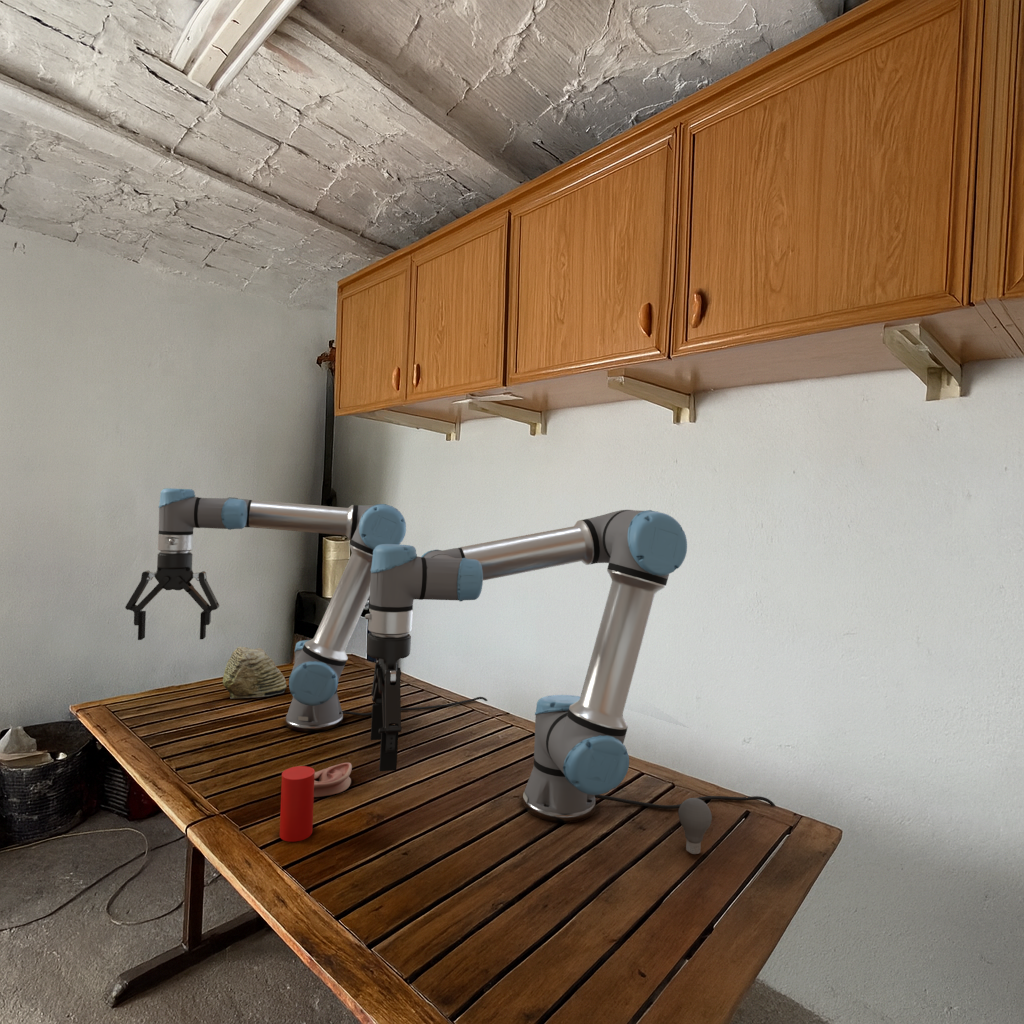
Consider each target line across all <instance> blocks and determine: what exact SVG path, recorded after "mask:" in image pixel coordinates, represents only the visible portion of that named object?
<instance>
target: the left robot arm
mask: <svg viewBox="0 0 1024 1024" xmlns="http://www.w3.org/2000/svg"><path fill="white" fill-rule="evenodd" d="M244 528H251V529H253V528H254V529H263V530H264V529H265V530H278V531H290V532H302V533H303V532H304V533H312V534H313V533H314V534H315V533H316V534H326V535H340V536H346V537H347V539H349V540H350V542H349V544H348V546H349V548H350V551H351V554H350V557H349V558H348V561H347V564H346V566H345V568H344V570H343V572H342V574H341V577H340V579H339V581H338V583H337V585H336V587H335V590H334V591H333V594H332V597H331V598H330V601H329V603H328V606H327V607H326V609H325V613H324V614H323V616H322V619H321V621H320V623H319V625H318V628H317V630H316V632H315V634H314V636H313V638H312V639H306V640H305V639H303V640H299V641H297V642H296V643H295V648H294V663H293V667H292V670H291V673H290V674H289V678H288V687H289V692H290V695H291V696H292V699H291V702H290V704H289V708H288V711H287V713H286V715H285V726H286V728H287V729H289V730H291V731H294V732H295V731H296V732H301V733H316V732H325V731H329V730H332V729H335V728H337V727H339V726H340V725H342V723H343V722H344V715H352V716H362V717H363V716H364V717H365V716H367V717H368V716H372V711H371V712H355V711H343V709H342V706H341V702H340V699H339V695H338V688H339V686H338V685H339V680H340V677H341V675H342V673H343V671H344V668H345V666H346V664H347V661H348V659H349V657H348V654H347V652H346V649H347V647H348V645H349V642H350V640H351V638H352V636H353V633H354V631H355V629H356V627H357V624H358V622H359V620H360V619H361V616H362V613H363V611H364V608H365V606H366V604H367V602H368V600H369V599H370V579H371V566H372V557H373V550H374V549H375V547H376V546H378V545H381V544H400V545H401V544H402V542H403V541H404V539H405V537H406V533H407V523H406V520H405V517H404V515H403V514H402V512H401V511H399V509H398V508H396V507H395V506H393V505H389V504H386V503H376V504H369V505H368V504H367V505H364V504H363V505H362V504H361V505H358V504H351V505H350V506H349V507H339V506H328V505H316V504H306V503H295V502H283V501H282V502H281V501H271V500H270V501H269V500H259V499H247V498H239V497H232V496H231V497H230V496H229V497H225V498H224V497H221V498H220V497H199V496H196V494H195V490H194V489H193V488H192V489H191V488H188V489H187V488H171V487H170V488H169V487H167V488H166V487H165V488H163V489H161V491H160V495H159V505H158V533H157V534H158V535H157V550H158V551H160V552H158V553H157V562H156V571H150V570H145V571H143V572H142V573H141V577H140V581H139V583H138V584H137V586H136V588H135V589H134V591H133V593H132V595H131V597H130V598H129V600H128V602H127V603H126V605H125V606H124V607H125V610H128V611H132V612H133V625H134V626H137V641H142V640H143V639H145V638H146V621H147V620H146V619H147V617H146V615H147V611H146V610H143V609H144V608H145V607H146V606H147V605H148V604H149V603H150V602H151V601H152V600H153V599H155V597H156V596H157V595H158V594H159V593H160V592H161V591H162V590H163V589H164V590H165V591H172V590H174V591H182V590H184V591H185V592H186V593H187V594H188V595H189V596H190V597H191V598H192V599H193V600H194V601H195V603H196V604H197V605H198V606H199V607H200V608H201V609H202V611H201V612H200V619H199V640H204V639H205V638H206V637H207V634H206V633H207V626H209V625H210V624H211V622H212V611H215V610H216V611H217V610H218V609H219V608H220V603H219V601H218V599H217V597H216V596H215V594H214V592H213V590H212V588H211V586H210V584H209V581H208V579H207V572H206V571H204V570H202V571H201V572H194V571H193V553H192V552H191V551H193V549H194V529H215V530H217V529H221V530H230V531H231V530H242V529H244ZM153 579H155V580H156V581H157V582H158V583H157V584H156V586H154V588H153V589H152V590H151V591H150V592H149V593H148V594H147V595H146V596H145V597H144V598H143V599H142V600H141V601H140V602H139V603H138V601H139V599H140V597H141V596H142V595H143V593H144V591H145V589H146V587H147V586H148V584H149V582H150V581H152V580H153ZM193 579H195V580H196V581H197V582H199V585H200V587H201V589H202V591H203V593H204V595H205V597H206V599H207V601H208V602H207V601H206V599H205V598H204V597H203V596H202V595H201V594H200V593H199V591H198V590H197V589H196V588H195V586H194V585H193V584H192V582H191V581H192V580H193ZM137 603H138V604H137ZM478 700H483V701H484V702H488V699H487V698H486V697H483V696H476V697H474V698H471V699H465V700H460V701H456V702H451V703H444V704H437V705H427V706H413V707H401V712H403V711H404V712H405V711H417V710H418V711H419V710H420V711H421V710H429V709H439V708H446V707H452V706H457V705H461V704H466V703H467V704H468V703H472V702H474V701H478Z"/></svg>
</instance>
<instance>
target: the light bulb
mask: <svg viewBox="0 0 1024 1024" xmlns="http://www.w3.org/2000/svg"><path fill="white" fill-rule="evenodd" d="M680 804H681V805H680V807H679V808H678V814H677V815H678V820H679V822H680V824H681V827H682V829H683V832H684V837H685V841H686V842H685V843H686V845H685V850H686V851H687V852H688V853H690V854H691V855H698V854H700V853H701V850H702V849H701V848H702V847H701V845H702V842H703V840H704V837H705V834H706V832H707V831H708V830H709V828H710V826H711V824H712V822H713V821H712V820H713V815H712V810H711V809H710V807H709V805H708V804H707V803H706V802H705V800H700V799H698V797H689V798H687V799H685V800H684V801H683V802H682V803H680Z"/></svg>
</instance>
